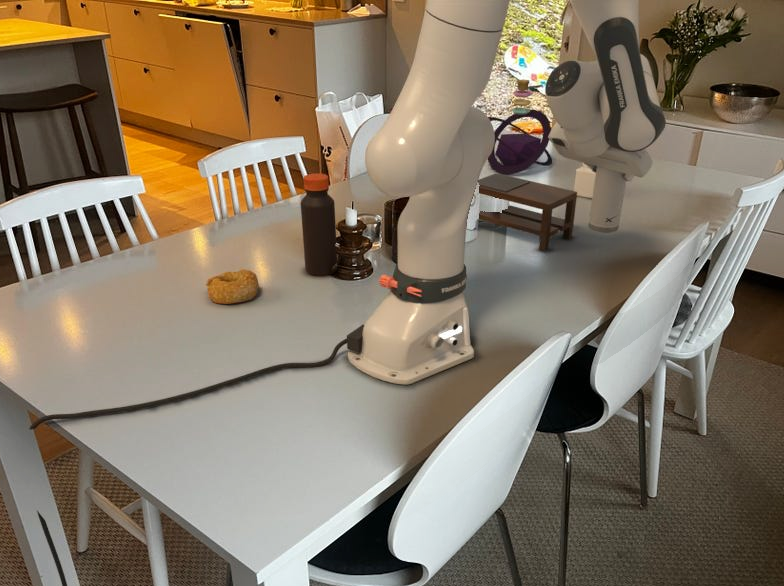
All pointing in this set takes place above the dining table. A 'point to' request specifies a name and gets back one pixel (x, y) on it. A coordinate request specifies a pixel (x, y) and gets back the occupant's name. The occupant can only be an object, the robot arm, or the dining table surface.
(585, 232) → the dining table surface
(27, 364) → the dining table surface
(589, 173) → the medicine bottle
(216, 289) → the bagel
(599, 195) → the travel mug
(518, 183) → the coffee table
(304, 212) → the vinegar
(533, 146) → the decorative bottle
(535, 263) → the dining table surface
